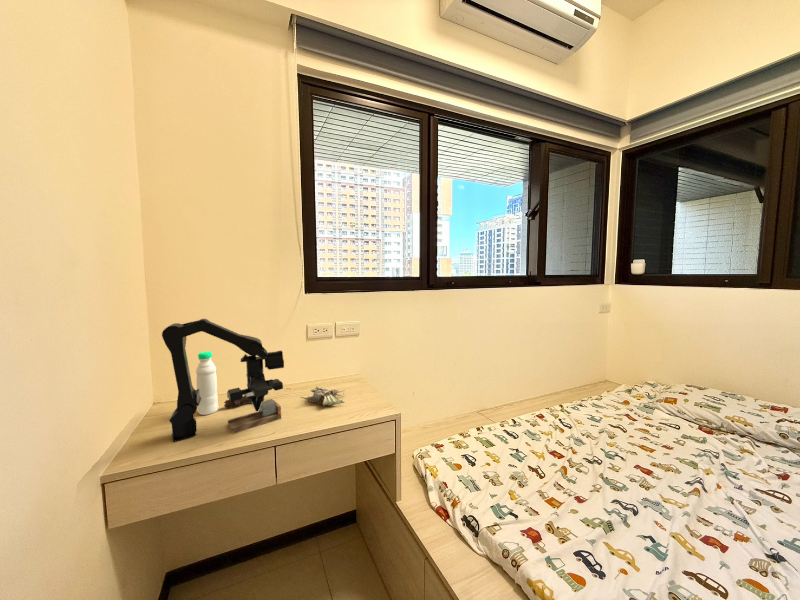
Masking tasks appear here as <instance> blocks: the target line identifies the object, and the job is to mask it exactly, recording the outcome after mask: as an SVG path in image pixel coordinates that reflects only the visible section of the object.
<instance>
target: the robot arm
mask: <svg viewBox="0 0 800 600" xmlns="http://www.w3.org/2000/svg"><path fill="white" fill-rule="evenodd" d="M203 332H204V333H206V334H208V335H211V336H212V337H216V338H218V339H220V340H222V341H223V342H227V343H229V344H231V345H234V346H236V347H237V348H239V350H241V351H243V352H244V355H243V356H241V358H240V363H245V364H246V382H247V383H246V387H247V388H244V389H241V388H240V387H235V388H229V389H227V392H226V394H227V395H226V397H227V398H228V399H227V400H230V401H236V400H240V399H241V398H242V397H243V396H245V397H246V398H247V399H250V400H251V402H250V403H251V404H252V406H253V408H254V410H255V412H258V411H259V408H260V405H261V402H262V399H263V397H264V398H265V396H267V395H268V394H269V391H272V390H274V391H280V390H283V389H284V384H283V382H282V381H281V380H280V379H278V378H275V379H266V378H265V373H264V368H266V369H267V370H268V371H269V370H270V371H271V370H276V369H277V370H278V369H284V368H285V360H284V355H283V353H284V352H283V350H277V351H269V352H268V351H267V349H266V348H265V347H263V342H262V340H261V339H260V338H258V337H254V336H250V335H244V334H241V333H237V332H235V331H233V330H231V329H228V328H226V327H224V326H222V325H219V324H217V323H215V322H212V321H210V320H209V319H207V318H200V319H199V320H195V321H190V322H185V323H180V322H179V323H177V322H176V323H171V324H170V325H168V326H167V327H165V328H164V329H163V330H162V333H161V336H162V340H163V342H164V344H165V346H166V347H167V348H166V349H168V351H169V353H170V355H171V361H172V366H173V371H174V372H173V373H174V375H175V376H174V377H175V381H176V386H177V392H178V393H177V401H176V408H175V409H174V410H173V413H172V415H171V416H170V417H169V420H168V421H169V422H170V424H171V438H172V442H173V443H175V442H178V441H183V440H186V439H188V438H189V439H190V438H193V437H195V436H197V433H196V432H197V430H198V429H197V419H196V418H195V417H194V414H195V413H196V412H197V410H198V406H199V404H200V401H201V399H202V398H201V397H200V389H197V388H196V389H195V388H194V386H193V382H192V377H191V372H190V367H189V362H188V356H187V351H186V350H187V349H186V346H187V345H186V344H187V337H188V336H191V335H194V334H197V333H203Z"/></svg>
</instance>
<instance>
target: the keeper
mask: <svg viewBox="0 0 800 600" xmlns="http://www.w3.org/2000/svg"><path fill="white" fill-rule="evenodd" d="M276 402H277V401H276ZM276 402H275V399H273V398H269V399H266V400H264V401H262V402H261V405H260V408H259V415H260V416H261V417H262V418H264V417H268V416H271V415H274V414H276Z"/></svg>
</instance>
